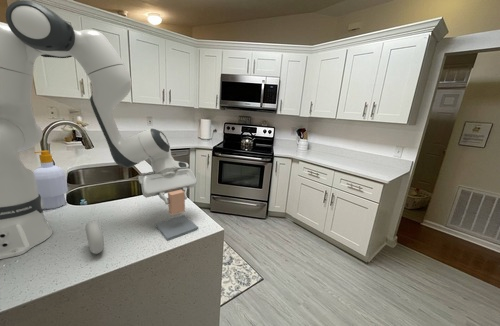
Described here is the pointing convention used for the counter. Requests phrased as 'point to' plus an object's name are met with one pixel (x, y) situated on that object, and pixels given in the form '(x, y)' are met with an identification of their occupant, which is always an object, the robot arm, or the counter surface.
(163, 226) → the coaster
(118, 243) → the counter surface
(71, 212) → the counter surface
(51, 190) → the soap bottle
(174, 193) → the block
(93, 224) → the donut
